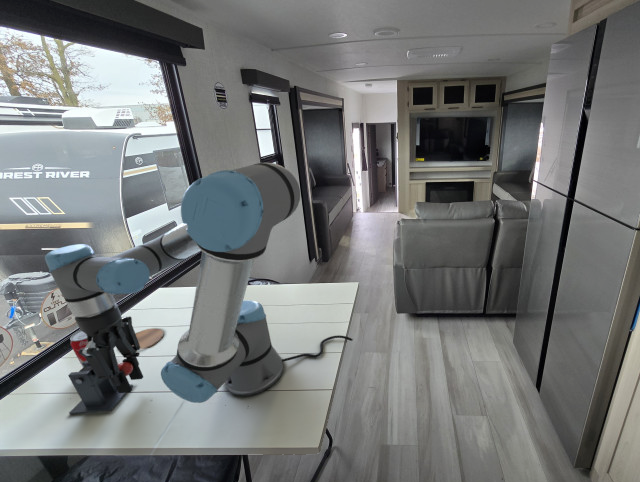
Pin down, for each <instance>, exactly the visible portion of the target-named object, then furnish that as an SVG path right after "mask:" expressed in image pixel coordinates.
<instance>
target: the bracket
mask: <svg viewBox="0 0 640 482" xmlns="http://www.w3.org/2000/svg"><path fill="white" fill-rule="evenodd" d="M82 365H83V367H84V366H90V365H89V363H88V361H84V362H83V363H82ZM82 365H81V366H82ZM83 367H82V368H83ZM67 376H68V378H69V380H70V382H71V384H72V385H73V387H74V389H75V390H76V393H77V395H78V396H79V398H80V399H81V400H80V401H79V402H78V403H77V404H76V405H75V406H74V407H73V408H72V409H71V410H70V411H69V412H68V414H69V416H72V415H73V416H74V415H82V414H94V413H107V412H112V411H114V409H115V408H116V407H117V405H118V404H119V403H120V402H121V401H122V400H123V399H124V398H125V396H127V394H128V393H119V392H118V390H117V388H116V386H113V385H112V383H111V381H110V379H101V380H99V379H98V377H97V376H95V377H93V376H92V374H91V372H90V371H83V372H79V371H73V372H72V371H71V372H70V373H69V374H68V375H67ZM130 386H131V388H132V389H133V387H134V385H133V383H132V384H130Z"/></svg>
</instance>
